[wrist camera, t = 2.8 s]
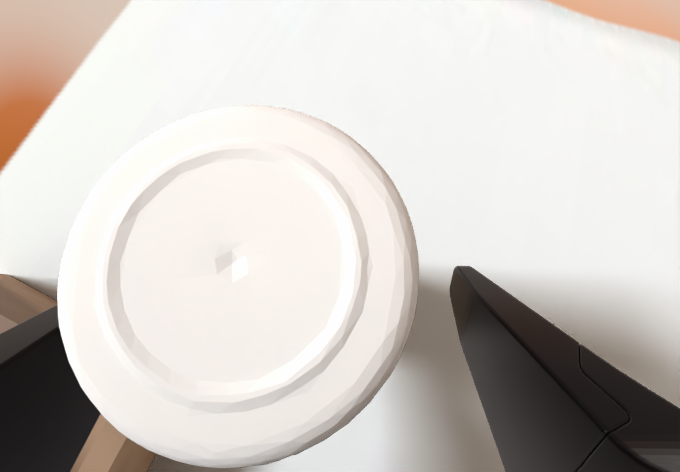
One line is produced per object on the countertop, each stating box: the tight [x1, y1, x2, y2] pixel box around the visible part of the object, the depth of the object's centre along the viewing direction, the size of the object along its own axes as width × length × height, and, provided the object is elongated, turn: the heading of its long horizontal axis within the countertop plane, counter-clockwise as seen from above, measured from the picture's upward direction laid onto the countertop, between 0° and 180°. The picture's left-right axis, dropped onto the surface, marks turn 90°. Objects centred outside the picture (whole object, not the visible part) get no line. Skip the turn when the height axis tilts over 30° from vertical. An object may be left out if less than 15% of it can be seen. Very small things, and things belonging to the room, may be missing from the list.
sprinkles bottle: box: [57, 105, 419, 468], centre depth 10 cm, size 5×5×13 cm
